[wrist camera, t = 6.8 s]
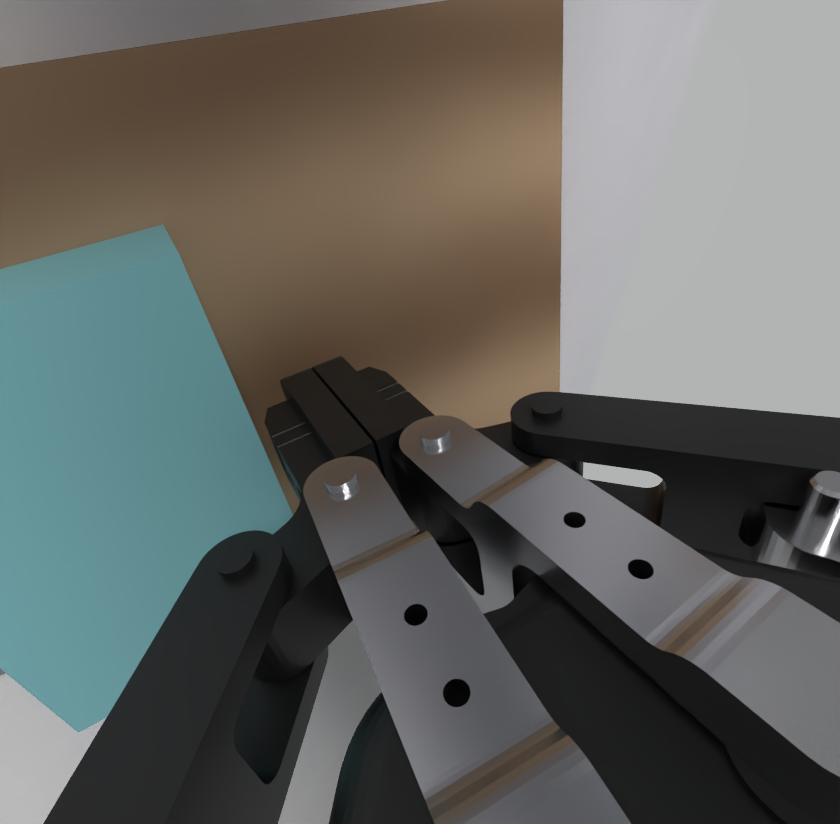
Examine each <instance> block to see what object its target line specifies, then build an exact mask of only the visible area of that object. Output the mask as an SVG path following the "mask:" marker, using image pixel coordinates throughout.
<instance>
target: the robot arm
mask: <svg viewBox="0 0 840 824" xmlns="http://www.w3.org/2000/svg"><path fill="white" fill-rule="evenodd" d="M280 383H281V387H282V389H283V392H284V395H285V398H286V401H284V402H281V403H279V404H276V405H274V406H272V407H269V408H267V412H266V417H265V422H264V423H265V426H266V428H267V430H268V433H269V435H270V438H271V440H272V443H273V445H274V447H275V450H276V452H277V455H278V457H279V459H280V462H281V464H282V467H283V469H284V471H285V474H286V476H287V478H288V479H289V481H290V483H291V485H292V487H293V489H294V491H295V493H296V495H297V496H298V498H299V500H300V503H299V506H298V508H297V510H296V512H295V513H294V515H293V516H292V517H291V518H290V520H289V521H288V522H287V523H286V524H285V525H283V526H282V527H281V528H280V529H279V530H277V531H276V532H275V533H274V534H273V535H272V534H270V533H268V532H265V531H259V530H252V531H245V532H241V533H238V534H235V535H232V536H230V537H228V538H226V539H224V540H222V541H221V542H219V543H218V544H217V545H215V546H214V547H213V548H212V549H210V550H209V551H208V552H207V553H206V555H205V556H204V557H203V558H202V559H201V561H200V562H199V564H198V565H197V567H196V569H195V570H194V572H193V574H192V576H191V577H190V579H189V581H188V582H187V584H186V586H185V587H184V589H183V591H182V592H181V594H180V596H179V597H178V599H177V601H176V602H175V604H174V606H173V607H172V609H171V611H170V612H169V614H168V616H167V617H166V619H165V621H164V622H163V624H162V626H161V627H160V629H159V631H158V632H157V634H156V636H155V638H154V639H153V641H152V643H151V644H150V646H149V648H148V649H147V651H146V653H145V654H144V656H143V658H142V659H141V661H140V663H139V664H138V666H137V668H136V669H135V671H134V673H133V674H132V676H131V678H130V679H129V681H128V683H127V684H126V686H125V688H124V689H123V691H122V693H121V694H120V696H119V698H118V700H117V701H116V703H115V705H114V706H113V708H112V710H111V711H110V713H109V715H108V716H107V718H106V720H105V721H104V723H103V725H102V726H101V728H100V730H99V731H98V733H97V735H96V736H95V738H94V740H93V741H92V743H91V745H90V746H89V748H88V750H87V751H86V753H85V755H84V757H83V758H82V760H81V762H80V763H79V765H78V767H77V768H76V770H75V772H74V773H73V775H72V777H71V778H70V780H69V782H68V783H67V785H66V787H65V788H64V790H63V792H62V793H61V795H60V797H59V798H58V800H57V802H56V803H55V805H54V807H53V808H52V810H51V812H50V813H49V815H48V817H47V819H46V820H45V822H44V824H278V821H279V818H280V814H281V811H282V808H283V804H284V801H285V798H286V795H287V791H288V788H289V785H290V781H291V778H292V775H293V771H294V768H295V765H296V762H297V758H298V755H299V752H300V748H301V745H302V742H303V739H304V735H305V732H306V729H307V725H308V722H309V719H310V716H311V712H312V709H313V706H314V702H315V699H316V696H317V693H318V689H319V686H320V683H321V679H322V676H323V673H324V669H325V666H326V663H327V658H328V645H329V644H330V643H331V642H332V641H333V640H334V639H335V638H336V637H337V636H338V635H339V634H340V633H341V632H342V631H343V630H344V629H345V628H346V626H347V625H348V624H349V623H350V622H351V621H352V620H353V621H354V623H355V626H356V628H357V631H358V633H359V636H360V638H361V641H362V643H363V646H364V648H365V651H366V653H367V656H368V658H369V661H370V663H371V666H372V668H373V671H374V673H375V676H376V678H377V681H378V683H379V686H380V689H381V691H382V692H381V693H380V694H379V695H378V697H377V698H376V699H375V701H374V702H373V703H372V705H371V706H370V707H369V709H368V710H367V712H366V713H365V715H364V717H363V718H362V720H361V722H360V723H359V725H358V727H357V729H356V731H355V733H354V735H353V737H352V740H351V742H350V744H349V746H348V749H347V752H346V755H345V758H344V761H343V764H342V767H341V771H340V775H339V779H338V783H337V788H336V793H335V797H334V802H333V807H332V812H331V816H330V821H329V824H840V418H834V417H824V416H813V415H802V414H791V413H780V412H770V411H759V410H747V409H737V408H726V407H715V406H704V405H693V404H682V403H671V402H660V401H649V400H639V399H628V398H617V397H606V396H595V395H584V394H573V393H562V392H537V393H533V394H529V395H527V396H524V397H522V398H521V399H519V400H518V401H516V403H515V404H514V405H513V406H512V408H511V411H510V417H511V421H510V422H506V423H501V424H497V425H493V426H488V427H483V428H475V429H474V428H473V427H471V426H470V425H468V424H467V423H466V422H464V421H462V420H461V419H459V418H456V417H452V416H446V415H436V416H435V415H434V414H433V413H432V412H431V411H430V410H428V409H427V408H426V407H425V406H424V405H423V404H422V403H421V402H420V401H418V400H417V399H416V398H415V397H414V396H413V395H412V394H411V393H410V392H408V391H406V389H405V388H404V387H403V386H402V385H401V384H398V383H397V381H396V380H395V379H394V378H393V377H392V376H391V375H389V374H388V373H387V372H385V371H382V370H379V369H376V368H372V367H367V368H364V369H362V370H359V371H356V370H355V369H354V368H353V367H352V366H351V365H350V364H349V363H348V362H347V361H346V360H345V359H344V358H343V357H342V356H339V357H336V358H334V359H331V360H329V361H326V362H324V363H321V364H319V365H316V366H314V367H312V368H309V369H306V370H304V371H301V372H299V373H296V374H294V375H291V376H288V377H286V378H283V379H281V380H280ZM583 462H587V463H594V464H601V465H608V466H615V467H622V468H630V469H637V470H643V471H649V472H652V473H654V474H657V475H658V476H660V477H661V478H662V479H663V481H662V482H661V483H660V484H659V485H658V486H656V487H652V488H641V487H634V486H627V485H621V484H615V483H608V482H602V481H595V480H588V479H585V478H583ZM412 521H413V522H414V523H415V525H416V526H417V527H418V528H419V532H418V530H417V529H416V527H415V526H414V524H413V523H412Z"/></svg>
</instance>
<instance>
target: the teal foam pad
mask: <svg viewBox="0 0 840 824" xmlns="http://www.w3.org/2000/svg"><path fill="white" fill-rule="evenodd" d="M292 516H293V514H292V511H291V509H290V507H289V504H288V502H287V500H286V498H285V495H284V493H283V491H282V488H281V486H280V484H279V482H278V479H277V477H276V475H275V472H274V470H273V468H272V466H271V463H270V461H269V459H268V456H267V454H266V452H265V450H264V447H263V445H262V443H261V440H260V438H259V436H258V434H257V431H256V429H255V427H254V424H253V422H252V420H251V418H250V415H249V413H248V411H247V408H246V406H245V404H244V402H243V399H242V397H241V395H240V392H239V390H238V388H237V385H236V383H235V381H234V379H233V376H232V374H231V372H230V369H229V367H228V365H227V363H226V360H225V358H224V356H223V353H222V351H221V349H220V347H219V344H218V342H217V340H216V337H215V335H214V333H213V331H212V328H211V326H210V324H209V321H208V319H207V317H206V315H205V312H204V310H203V308H202V305H201V303H200V301H199V299H198V296H197V294H196V292H195V289H194V287H193V285H192V283H191V280H190V278H189V276H188V273H187V271H186V269H185V267H184V264H183V262H182V260H181V257H180V255H179V253H178V251H177V249H176V247H175V245H174V244H173V242H172V240H171V238H170V236H169V234H168V232H167V230H166V229H165V227H164V225H163V224H162V225H158V226H155V227H151V228H147V229H144V230H140V231H137V232H133V233H129V234H126V235H122V236H118V237H115V238H111V239H108V240H104V241H100V242H97V243H93V244H89V245H86V246H82V247H79V248H75V249H71V250H68V251H64V252H60V253H57V254H53V255H50V256H46V257H42V258H39V259H35V260H31V261H28V262H24V263H20V264H17V265H13V266H10V267H6V268H2V269H0V669H2V670H3V671H4V672H5V673H6V674H8V675H9V676H10V677H11V678H13V679H14V680H15V681H16V682H17V683H19V684H20V685H21V686H22V687H24V688H25V689H26V690H27V691H28V692H30V693H31V694H32V695H33V696H35V697H36V698H37V699H38V700H39V701H41V702H42V703H43V704H44V705H46V706H47V707H48V708H49V709H50V710H52V711H53V712H54V713H55V714H56V715H58V716H59V717H60V718H61V719H63V720H64V721H65V722H66V723H67V724H69V725H70V726H71V727H72V728H74V729H75V730H76V731H77V732H80V731H82V730H84V729H86V728H87V727H89V726H91V725H93V724H95V723H97V722H99V721H100V720H102V719H104V718H106V717H107V716H108V715H109V713H110V711H111V710H112V708H113V706H114V705H115V703H116V701H117V700H118V698H119V696H120V694H121V693H122V691H123V689H124V688H125V686H126V684H127V683H128V681H129V679H130V678H131V676H132V674H133V673H134V671H135V669H136V668H137V666H138V664H139V663H140V661H141V659H142V658H143V656H144V654H145V653H146V651H147V649H148V648H149V646H150V644H151V643H152V641H153V639H154V638H155V636H156V634H157V632H158V631H159V629H160V627H161V626H162V624H163V622H164V621H165V619H166V617H167V616H168V614H169V612H170V611H171V609H172V607H173V606H174V604H175V602H176V601H177V599H178V597H179V596H180V594H181V592H182V591H183V589H184V587H185V586H186V584H187V582H188V581H189V579H190V577H191V576H192V574H193V572H194V570H195V569H196V567H197V565H198V564H199V562H200V561H201V559H202V558H203V557H204V556H205V555H206V553H207V552H208V551H209V550H210V549H212V548H213V547H214V546H215V545H217V544H218V543H219V542H221V541H222V540H224V539H226V538H228V537H230V536H232V535H235V534H238V533H241V532H245V531H252V530H259V531H265V532H268V533H270V534H272V535H273V534H274V533H275V532H276V531H277V530H279V529H280V528H281V527H282V526H283V525H285V524H286V523H287V522H288V521H289V520H290V518H291V517H292Z"/></svg>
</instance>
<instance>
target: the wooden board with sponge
mask: <svg viewBox="0 0 840 824" xmlns="http://www.w3.org/2000/svg"><path fill="white" fill-rule="evenodd" d="M562 70H563V0H447V1H440V2H433V3H427V4H420V5H414V6H407V7H400V8H394V9H387V10H380V11H374V12H367V13H361V14H354V15H347V16H341V17H334V18H327V19H321V20H314V21H308V22H301V23H294V24H288V25H281V26H274V27H268V28H261V29H255V30H248V31H241V32H235V33H228V34H221V35H215V36H208V37H202V38H195V39H188V40H182V41H175V42H168V43H162V44H155V45H148V46H142V47H135V48H129V49H122V50H115V51H109V52H102V53H95V54H89V55H82V56H76V57H69V58H62V59H56V60H49V61H42V62H36V63H29V64H23V65H16V66H9V67H3V68H0V269H2V268H6V267H10V266H13V265H17V264H20V263H24V262H28V261H31V260H35V259H39V258H42V257H46V256H50V255H53V254H57V253H60V252H64V251H68V250H71V249H75V248H79V247H82V246H86V245H89V244H93V243H97V242H100V241H104V240H108V239H111V238H115V237H118V236H122V235H126V234H129V233H133V232H137V231H140V230H144V229H147V228H151V227H155V226H158V225H162V224H163V225H164V227H165V229H166V230H167V232H168V234H169V236H170V238H171V240H172V242H173V244H174V245H175V247H176V249H177V251H178V253H179V255H180V257H181V260H182V262H183V264H184V267H185V269H186V271H187V273H188V276H189V278H190V280H191V283H192V285H193V287H194V289H195V292H196V294H197V296H198V299H199V301H200V303H201V305H202V308H203V310H204V312H205V315H206V317H207V319H208V321H209V324H210V326H211V328H212V331H213V333H214V335H215V337H216V340H217V342H218V344H219V347H220V349H221V351H222V353H223V356H224V358H225V360H226V363H227V365H228V367H229V369H230V372H231V374H232V376H233V379H234V381H235V383H236V385H237V388H238V390H239V392H240V395H241V397H242V399H243V402H244V404H245V406H246V408H247V411H248V413H249V415H250V418H251V420H252V422H253V424H254V427H255V429H256V431H257V434H258V436H259V438H260V440H261V443H262V445H263V447H264V450H265V452H266V454H267V456H268V459H269V461H270V463H271V466H272V468H273V470H274V472H275V475H276V477H277V479H278V482H279V484H280V486H281V488H282V491H283V493H284V495H285V498H286V500H287V502H288V504H289V507H290V509H291V511H292V514H293V515H294V513H295V512H296V510H297V508H298V506H299V503H300V500H299V498H298V496H297V495H296V493H295V491H294V489H293V487H292V485H291V483H290V481H289V479H288V478H287V476H286V474H285V471H284V469H283V467H282V464H281V462H280V459H279V457H278V455H277V452H276V450H275V447H274V445H273V443H272V440H271V438H270V435H269V433H268V430H267V428H266V426H265V423H264V422H265V417H266V412H267V408H269V407H272V406H274V405H276V404H279V403H281V402H284V401H286V398H285V395H284V392H283V389H282V387H281V383H280V380H281V379H283V378H286V377H288V376H291V375H294V374H296V373H299V372H301V371H304V370H306V369H309V368H312V367H314V366H316V365H319V364H321V363H324V362H326V361H329V360H331V359H334V358H336V357H339V356H342V357H343V358H344V359H345V360H346V361H347V362H348V363H349V364H350V365H351V366H352V367H353V368H354V369H355V370H356V371H359V370H362V369H364V368H367V367H372V368H376V369H379V370H382V371H385V372H387V373H388V374H389V375H391V376H392V377H393V378H394V379H395V380H396V381H397V383H398V384H401V385H402V386H403V387H404V388H405V389H406V391H408V392H410V393H411V394H412V395H413V396H414V397H415V398H416V399H417V400H418V401H420V402H421V403H422V404H423V405H424V406H425V407H426V408H427V409H428V410H430V411H431V412H432V413H433V414H434V415H435V416H436V415H446V416H452V417H456V418H459V419H461V420H462V421H464V422H466V423H467V424H468V425H470V426H471V427H473V428H474V429H475V428H483V427H488V426H493V425H497V424H501V423H506V422H510V421H511V417H510V411H511V408H512V406H513V405H514V404H515V403H516V401H518V400H519V399H521V398H522V397H524V396H527V395H529V394H533V393H537V392H559V388H560V282H561V176H562ZM412 523H413V524H414V526H415V527H416V529H417V530H419V528H418V527H417V526H416V525H415V523H414V522H413V521H412Z"/></svg>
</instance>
